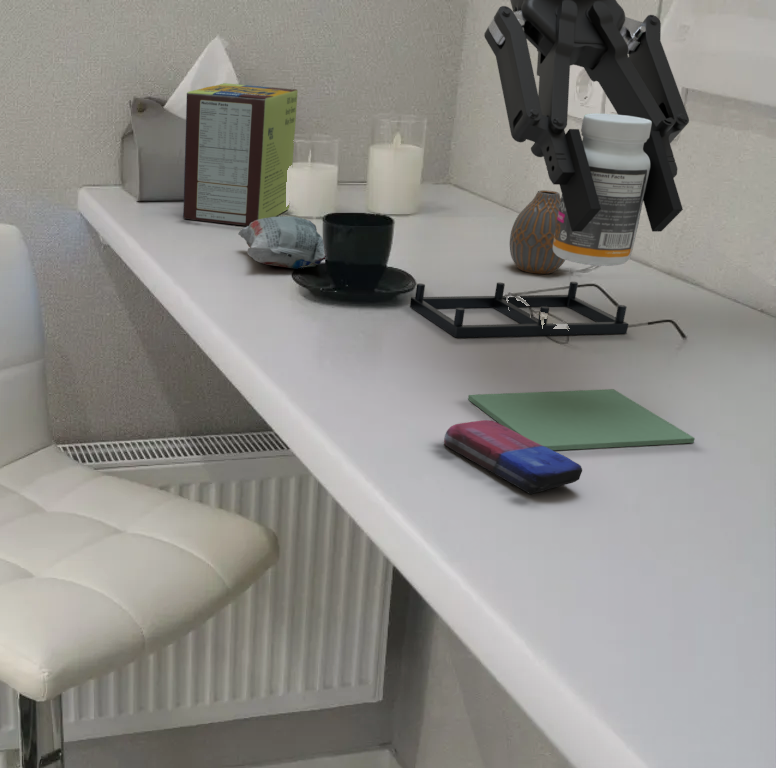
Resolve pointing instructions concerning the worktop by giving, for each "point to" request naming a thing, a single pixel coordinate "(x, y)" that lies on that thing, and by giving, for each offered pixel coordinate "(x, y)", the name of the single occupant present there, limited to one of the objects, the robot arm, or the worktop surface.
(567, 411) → the mat
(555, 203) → the vase
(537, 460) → the eraser
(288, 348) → the worktop surface
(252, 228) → the packaged food
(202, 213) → the protein box
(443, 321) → the black rectangular frame
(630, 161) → the pill bottle
